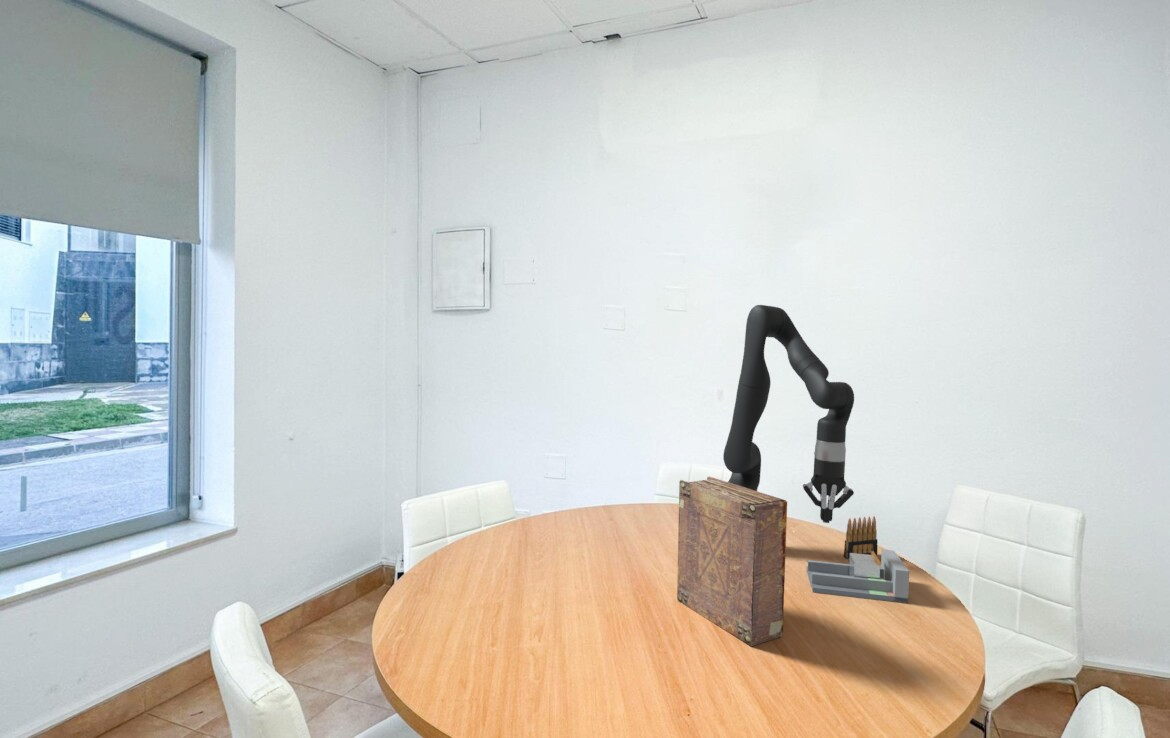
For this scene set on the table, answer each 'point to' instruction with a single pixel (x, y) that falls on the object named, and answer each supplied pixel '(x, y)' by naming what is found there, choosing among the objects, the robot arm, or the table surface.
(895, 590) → the base
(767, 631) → the book
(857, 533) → the ammunition clip
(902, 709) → the table surface
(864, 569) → the plunger
